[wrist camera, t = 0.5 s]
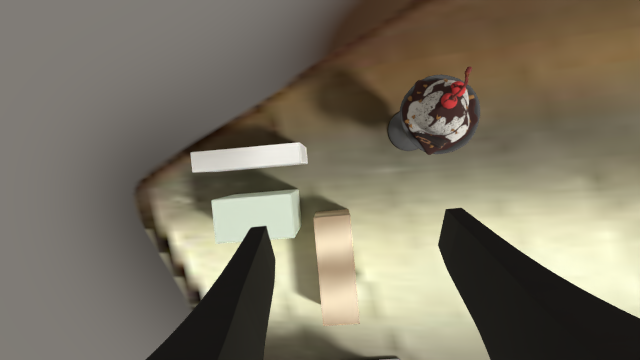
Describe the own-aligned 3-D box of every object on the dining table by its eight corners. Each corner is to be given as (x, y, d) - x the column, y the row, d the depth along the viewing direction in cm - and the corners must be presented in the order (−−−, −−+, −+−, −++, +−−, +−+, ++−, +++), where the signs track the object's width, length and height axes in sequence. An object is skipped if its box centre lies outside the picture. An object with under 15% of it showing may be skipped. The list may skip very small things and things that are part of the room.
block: (301, 225, 35) (294, 237, 29) (237, 230, 35) (215, 243, 29) (298, 189, 35) (290, 193, 28) (233, 194, 35) (211, 200, 29)
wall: (307, 163, 35) (301, 162, 28) (220, 171, 35) (192, 172, 28) (306, 147, 35) (299, 142, 28) (218, 155, 35) (190, 152, 28)
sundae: (418, 91, 34) (486, 29, 19) (446, 140, 34) (536, 117, 19) (370, 119, 34) (399, 81, 19) (398, 167, 34) (448, 167, 19)
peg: (356, 303, 35) (359, 323, 31) (324, 305, 36) (323, 325, 31) (347, 208, 35) (350, 214, 30) (315, 211, 35) (313, 217, 31)
